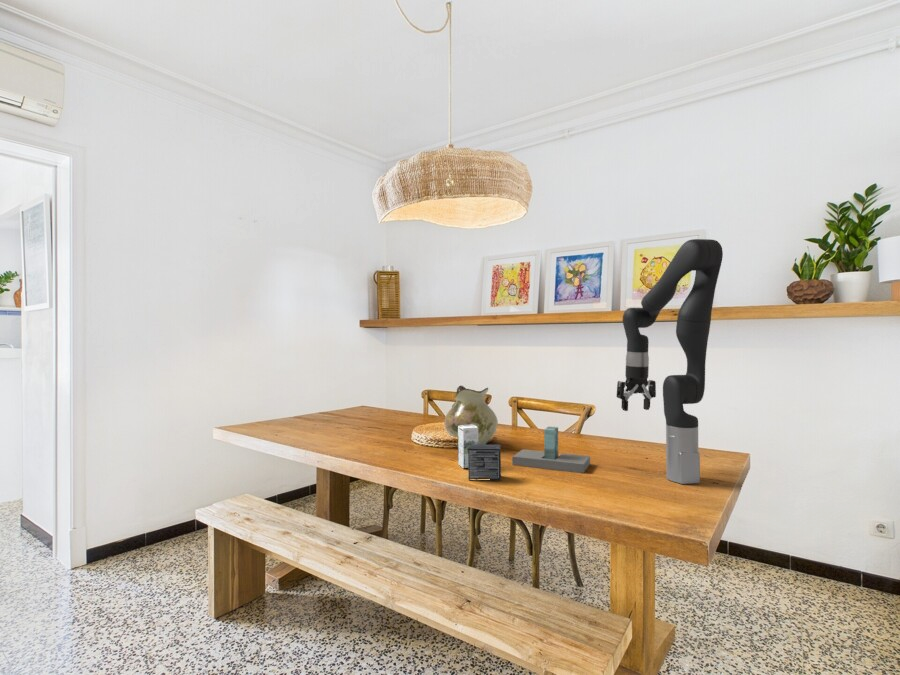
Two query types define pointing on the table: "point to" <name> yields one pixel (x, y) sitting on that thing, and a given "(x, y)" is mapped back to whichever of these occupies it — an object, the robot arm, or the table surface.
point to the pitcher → (471, 414)
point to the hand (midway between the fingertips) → (635, 410)
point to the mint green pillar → (551, 443)
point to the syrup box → (466, 442)
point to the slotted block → (552, 461)
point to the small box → (484, 462)
